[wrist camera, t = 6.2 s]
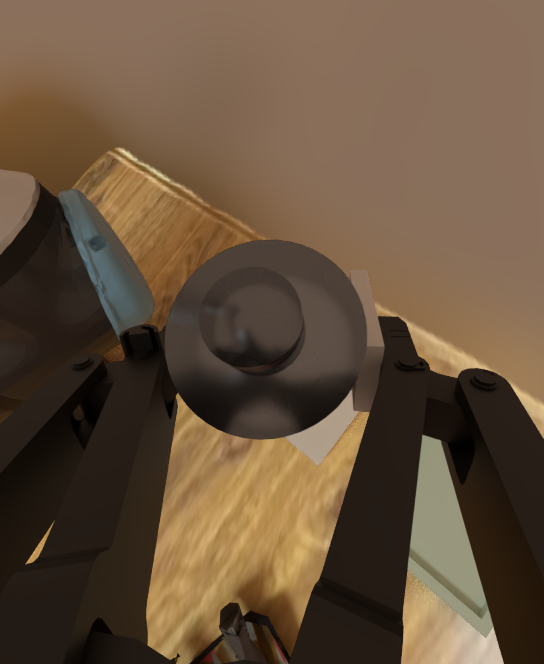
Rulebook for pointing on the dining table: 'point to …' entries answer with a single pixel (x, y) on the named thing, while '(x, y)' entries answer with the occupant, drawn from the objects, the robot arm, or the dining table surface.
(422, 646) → the dining table surface
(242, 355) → the dark plastic bottle
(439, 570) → the tray
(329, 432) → the post stand
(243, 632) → the figurine
